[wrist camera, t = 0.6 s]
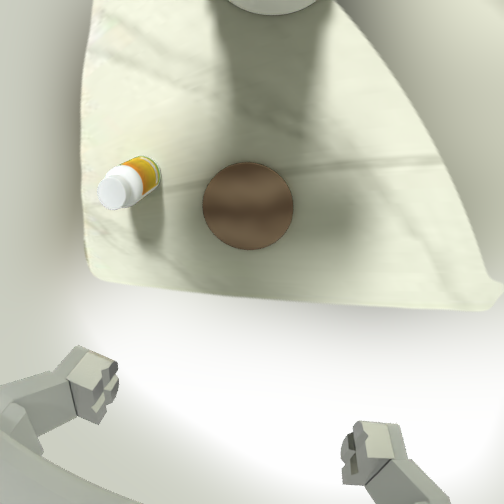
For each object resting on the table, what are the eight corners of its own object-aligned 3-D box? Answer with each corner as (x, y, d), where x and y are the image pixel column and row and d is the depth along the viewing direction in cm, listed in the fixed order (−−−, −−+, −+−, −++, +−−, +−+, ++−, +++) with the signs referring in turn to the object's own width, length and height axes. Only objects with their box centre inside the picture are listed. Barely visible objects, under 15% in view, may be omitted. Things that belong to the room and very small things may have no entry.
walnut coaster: (193, 174, 42) (191, 176, 41) (282, 153, 40) (281, 154, 39) (218, 253, 47) (217, 256, 46) (300, 238, 45) (301, 241, 44)
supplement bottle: (140, 147, 41) (104, 161, 33) (169, 170, 42) (139, 190, 34) (121, 176, 43) (85, 197, 35) (148, 199, 45) (117, 224, 36)
